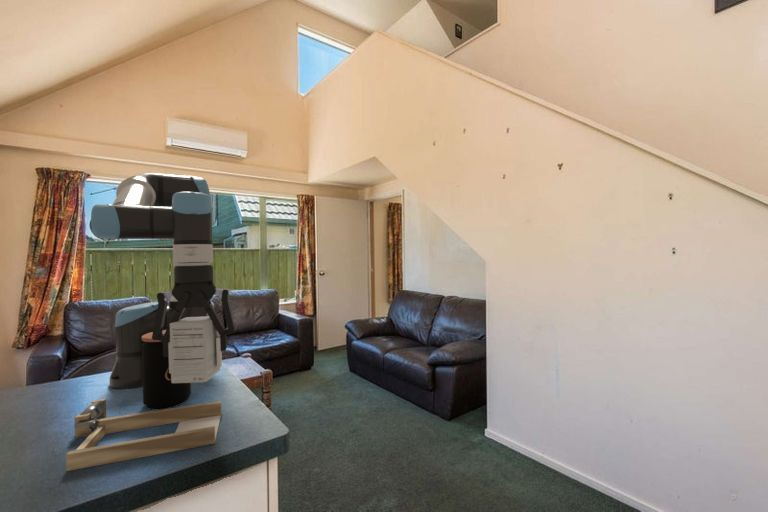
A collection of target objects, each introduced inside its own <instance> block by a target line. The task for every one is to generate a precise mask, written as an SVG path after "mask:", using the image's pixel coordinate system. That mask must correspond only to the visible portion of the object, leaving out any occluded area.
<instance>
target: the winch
mask: <svg viewBox="0 0 768 512" xmlns="http://www.w3.org/2000/svg"><path fill="white" fill-rule="evenodd" d="M103 418H108V417H107V399H106V398H101V399H93V401H91V403H90V404H89V406H88V407H86V408H85V409H84V410H83V411H82V412H81V413H79V414H77V415H76V416H75V417H74V427H73V428H74V438H75V439H79V438H85V437H88V436H89V435H90V434H91V433H92V430H93V429H96V428H95V427H97V426H98V424H99V420H100V419H103Z"/></svg>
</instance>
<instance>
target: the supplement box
mask: <svg viewBox="0 0 768 512" xmlns="http://www.w3.org/2000/svg"><path fill="white" fill-rule="evenodd" d="M218 335H219V333H218V331H217V329H216V328H215V326H214V324H213V322H212V320H211V319H210V317H209V316H205V317H186V318H183V319H181V320H179V321H178V322H173V323H170V356H171V383H192V384H193V383H194V384H195V383H206V382H208V381H209V380H210V379H211V378H212V377H214V376H215V375H216V374H218V372H219V371H221V367H220V368H217V349H216V338H217V336H218Z"/></svg>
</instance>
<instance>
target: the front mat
mask: <svg viewBox="0 0 768 512" xmlns="http://www.w3.org/2000/svg"><path fill="white" fill-rule="evenodd" d="M221 416H222V414H221V415H218V416H212V417H206V418H199V419H193V420H187V421H181V422H178V425H177V428H176V430H175V432H174V433H178V432H184V431H190V430H196V429H202V428H208V427H213V426H215V440H216V439H217V435H218V430H219V425H220V421H221Z"/></svg>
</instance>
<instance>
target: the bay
mask: <svg viewBox="0 0 768 512" xmlns="http://www.w3.org/2000/svg"><path fill="white" fill-rule="evenodd" d="M222 413H223V412H222V400H218V401H211V402H205V403H199V404H198V403H197V404H191V405H185V406H175V407H171V408H166V409H159V410H151V411H143V412H137V413H129V414H125V415H117V416H109V417H106V418H103V419H100V420H99V424H98V425H97V426H96V428H94V430H93V431H91V434H90V435H89V436H86V438H85V440H84V441H82V443H81V444H80V445H79V446H78V447H77V448H76V449H74V450H69V451H68V452H67V453H66V454H65V461H66V468H65V469H66V472H70V471H77V470H81V469H85V468H87V469H88V468H92V467H96V466H102V465H108V464H111V463H112V464H113V463H119V462H123V461H130V460H133V459H134V460H135V459H139V458H146V457H151V456H155V455H161V454H167V453H171V452H177V451H183V450H188V449H192V448H199V447H205V446H210V445H215V444H214V443H215V442H216V439H215V426H213V427H208V428H202V429H196V430H190V431H184V432H178V433H175V432H174V433H167V434H163V435H155V436H151V437H150V436H149V437H144V438H138V439H137V438H136V439H131V440H126V441H120V442H114V443H109V444H103V445H98V443H99V442H100V441H101V440H102V439H103V437H104V436H105V435H107V434H114V433H115V434H116V433H121V432H126V431H133V430H139V429H146V428H150V427H151V428H152V427H157V426H164V425H169V424H175V423H180V422H181V421H187V420H193V419H199V418H206V417H212V416H218V415H221V416H222ZM209 444H210V445H209ZM96 445H98V446H96ZM204 445H205V446H204ZM198 446H199V447H198Z"/></svg>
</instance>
